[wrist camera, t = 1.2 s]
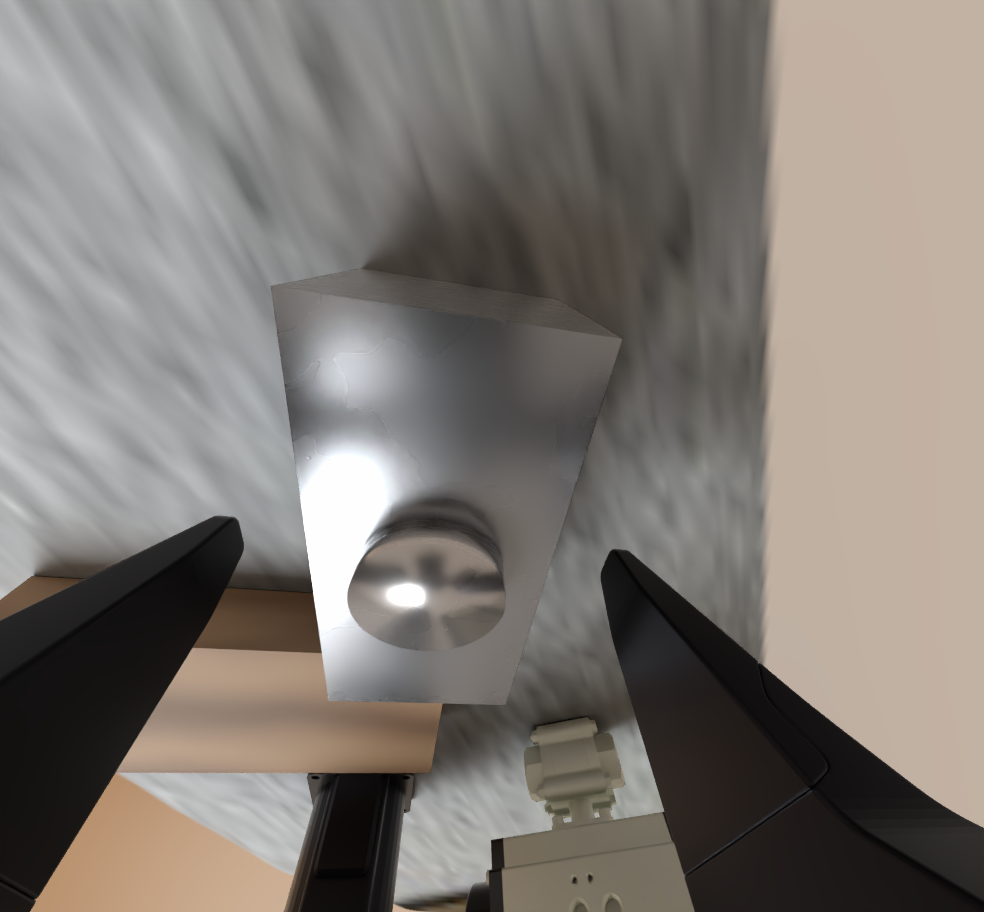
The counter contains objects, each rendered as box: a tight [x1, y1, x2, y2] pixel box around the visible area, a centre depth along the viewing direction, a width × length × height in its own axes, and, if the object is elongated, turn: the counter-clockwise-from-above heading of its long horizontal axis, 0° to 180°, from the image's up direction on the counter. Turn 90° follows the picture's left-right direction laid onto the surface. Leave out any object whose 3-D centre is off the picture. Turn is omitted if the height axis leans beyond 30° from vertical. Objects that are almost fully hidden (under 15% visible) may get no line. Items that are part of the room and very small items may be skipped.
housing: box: [271, 268, 622, 705], centre depth 10 cm, size 11×5×6 cm, turn 172°
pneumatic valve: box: [465, 717, 695, 912], centre depth 17 cm, size 6×12×12 cm, turn 105°
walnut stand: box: [0, 576, 443, 773], centre depth 16 cm, size 10×16×2 cm, turn 81°
